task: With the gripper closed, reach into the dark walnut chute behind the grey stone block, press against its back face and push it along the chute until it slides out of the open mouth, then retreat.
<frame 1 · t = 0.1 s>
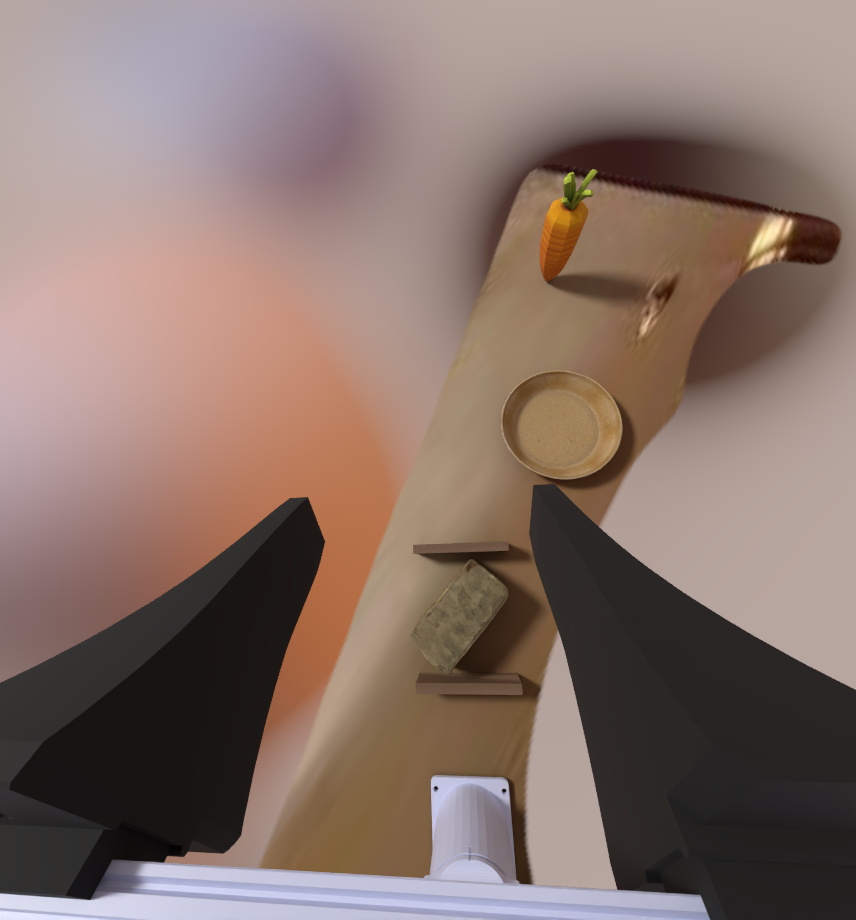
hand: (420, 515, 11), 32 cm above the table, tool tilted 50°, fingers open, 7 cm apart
plant saucer: (554, 429, 44), on the table
stone block: (459, 609, 39), on the table
chute: (464, 609, 39), on the table
carrot: (547, 281, 50), on the table
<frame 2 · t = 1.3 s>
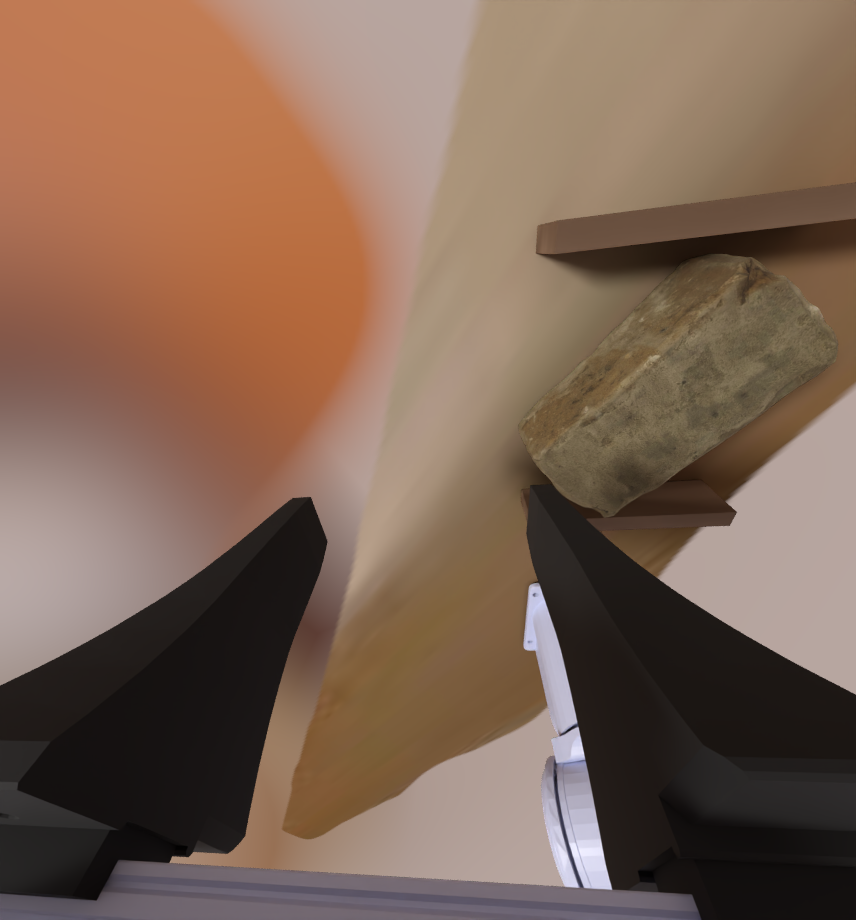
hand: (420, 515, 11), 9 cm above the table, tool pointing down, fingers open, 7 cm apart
stone block: (617, 381, 18), on the table
chute: (632, 385, 18), on the table
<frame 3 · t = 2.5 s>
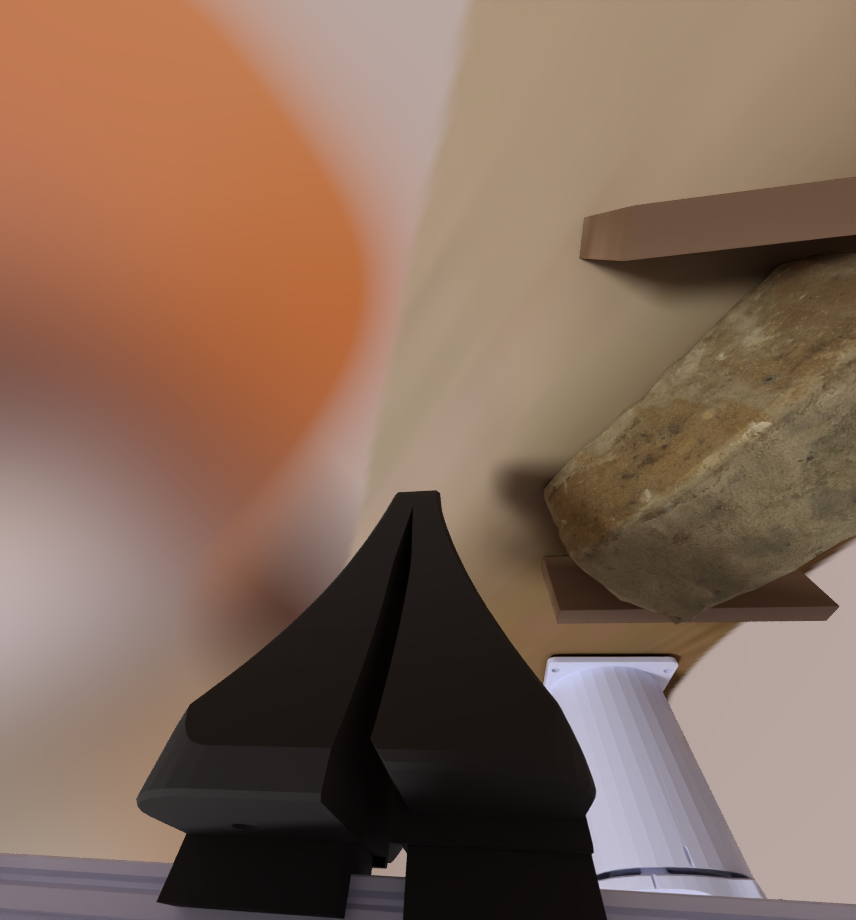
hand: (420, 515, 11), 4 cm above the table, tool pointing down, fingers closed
stone block: (675, 428, 13), on the table
chute: (701, 437, 13), on the table
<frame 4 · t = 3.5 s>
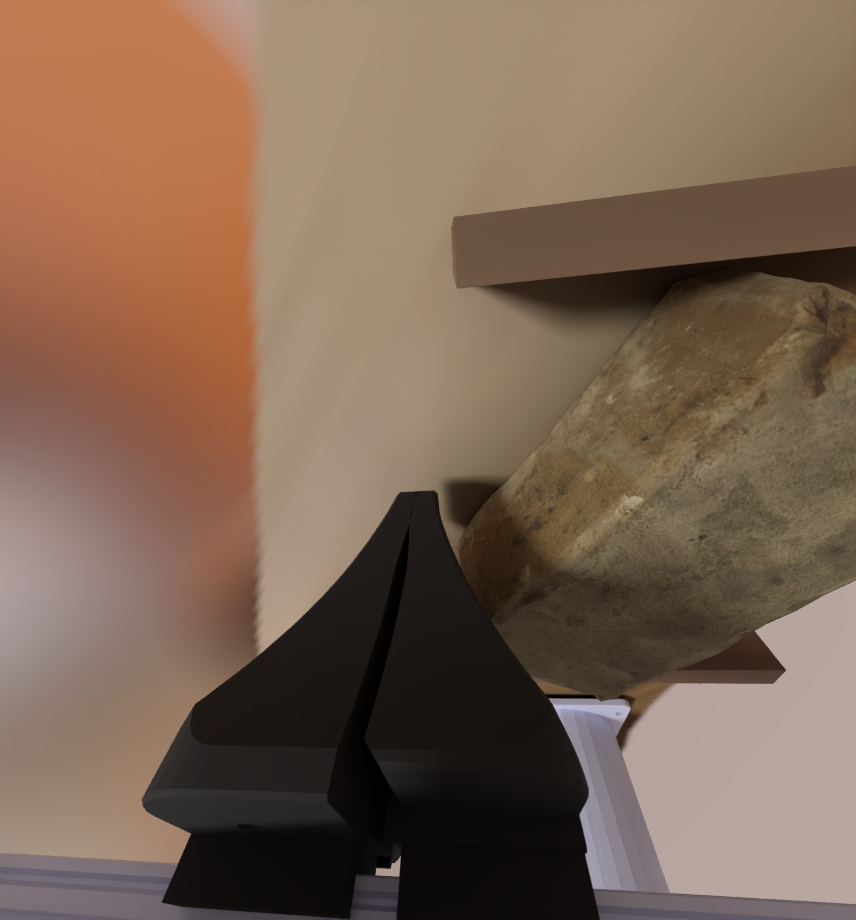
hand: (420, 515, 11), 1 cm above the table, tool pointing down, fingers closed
stone block: (597, 466, 11), on the table, touching gripper
chute: (626, 478, 11), on the table
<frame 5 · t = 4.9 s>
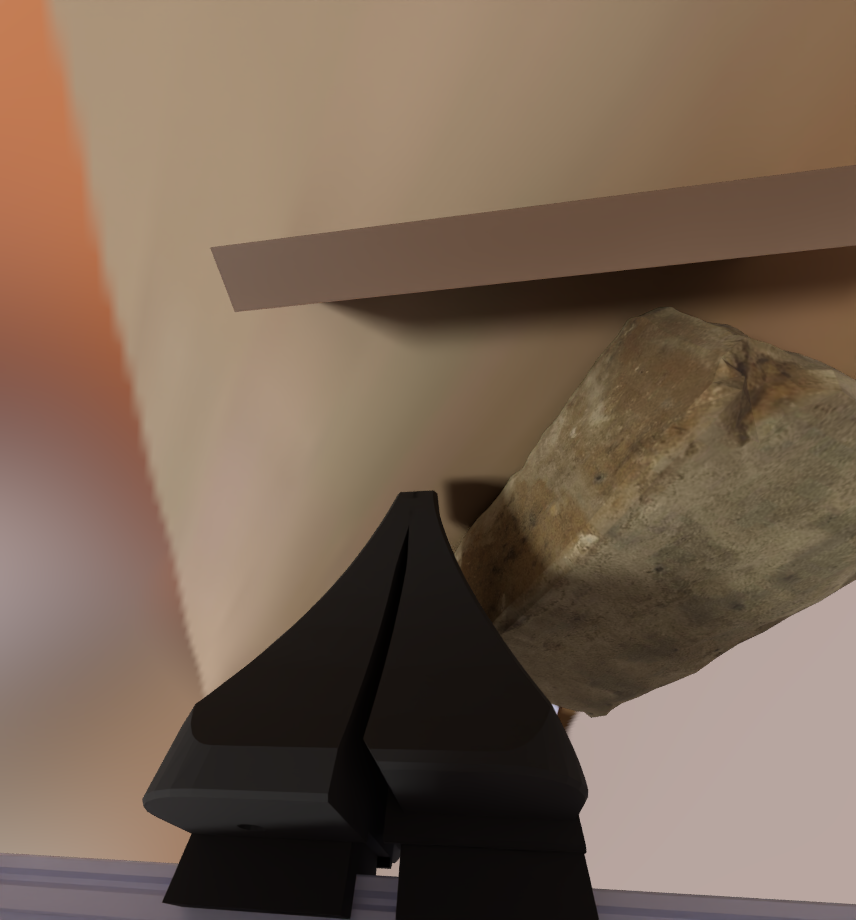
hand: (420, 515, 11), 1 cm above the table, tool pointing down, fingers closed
stone block: (578, 486, 12), on the table, touching gripper
chute: (505, 484, 12), on the table
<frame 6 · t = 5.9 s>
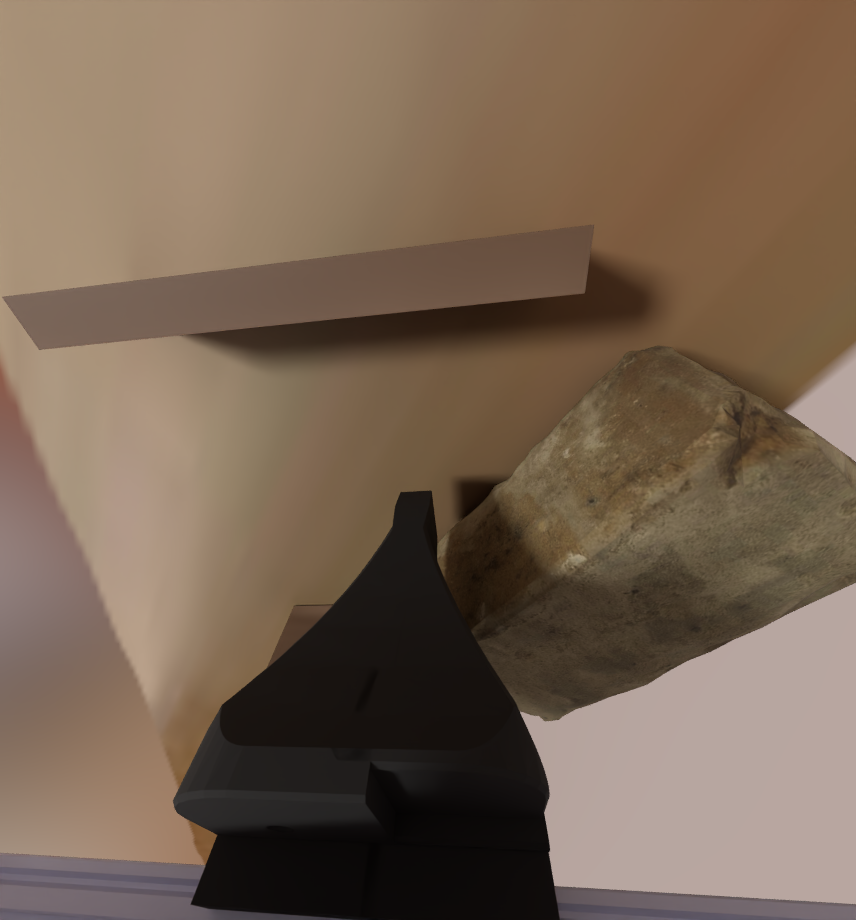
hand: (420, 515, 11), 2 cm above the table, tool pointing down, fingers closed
stone block: (555, 501, 12), on the table, touching chute, gripper
chute: (378, 495, 12), on the table
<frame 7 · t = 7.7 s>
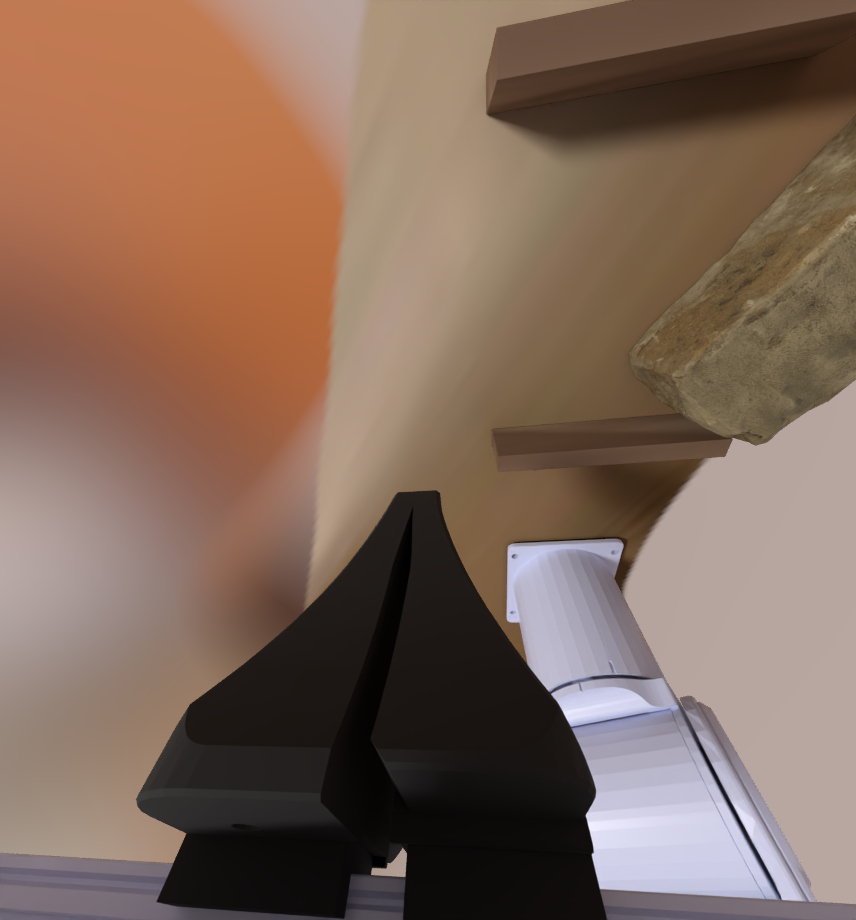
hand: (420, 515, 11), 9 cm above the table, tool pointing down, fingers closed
stone block: (749, 289, 15), on the table
chute: (609, 292, 15), on the table
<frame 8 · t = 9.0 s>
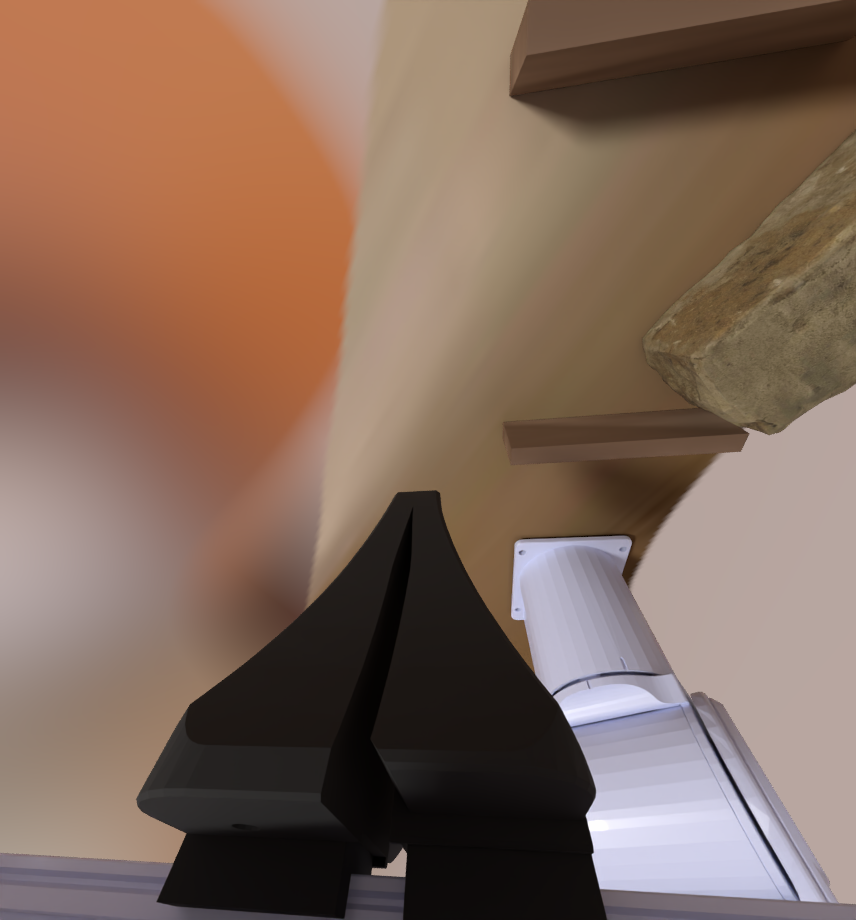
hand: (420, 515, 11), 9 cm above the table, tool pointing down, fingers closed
stone block: (767, 278, 15), on the table
chute: (628, 283, 15), on the table
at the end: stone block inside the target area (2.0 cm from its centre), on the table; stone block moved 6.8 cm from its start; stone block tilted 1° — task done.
